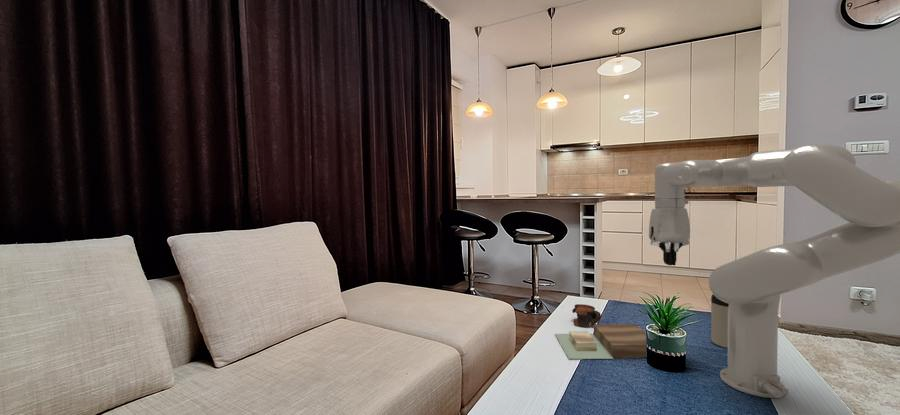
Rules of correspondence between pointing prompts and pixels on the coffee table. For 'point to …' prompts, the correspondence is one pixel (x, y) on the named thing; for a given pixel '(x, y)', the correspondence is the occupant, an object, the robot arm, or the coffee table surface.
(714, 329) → the beige canister
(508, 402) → the coffee table surface
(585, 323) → the pottery mug
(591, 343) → the maple tile
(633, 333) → the walnut board
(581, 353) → the rubber mat
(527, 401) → the coffee table surface
